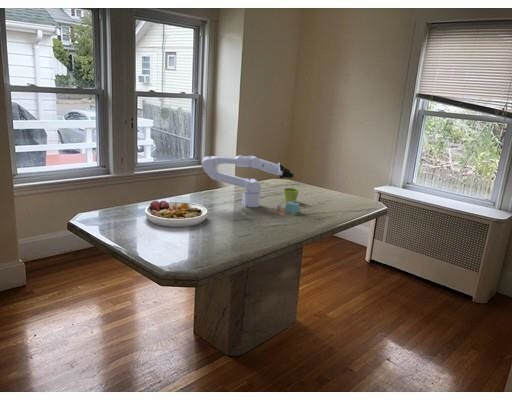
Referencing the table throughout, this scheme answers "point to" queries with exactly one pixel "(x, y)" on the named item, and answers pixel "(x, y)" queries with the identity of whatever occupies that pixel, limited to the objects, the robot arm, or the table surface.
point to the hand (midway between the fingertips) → (291, 174)
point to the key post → (278, 207)
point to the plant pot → (290, 194)
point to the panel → (282, 212)
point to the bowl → (175, 213)
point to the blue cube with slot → (292, 207)
